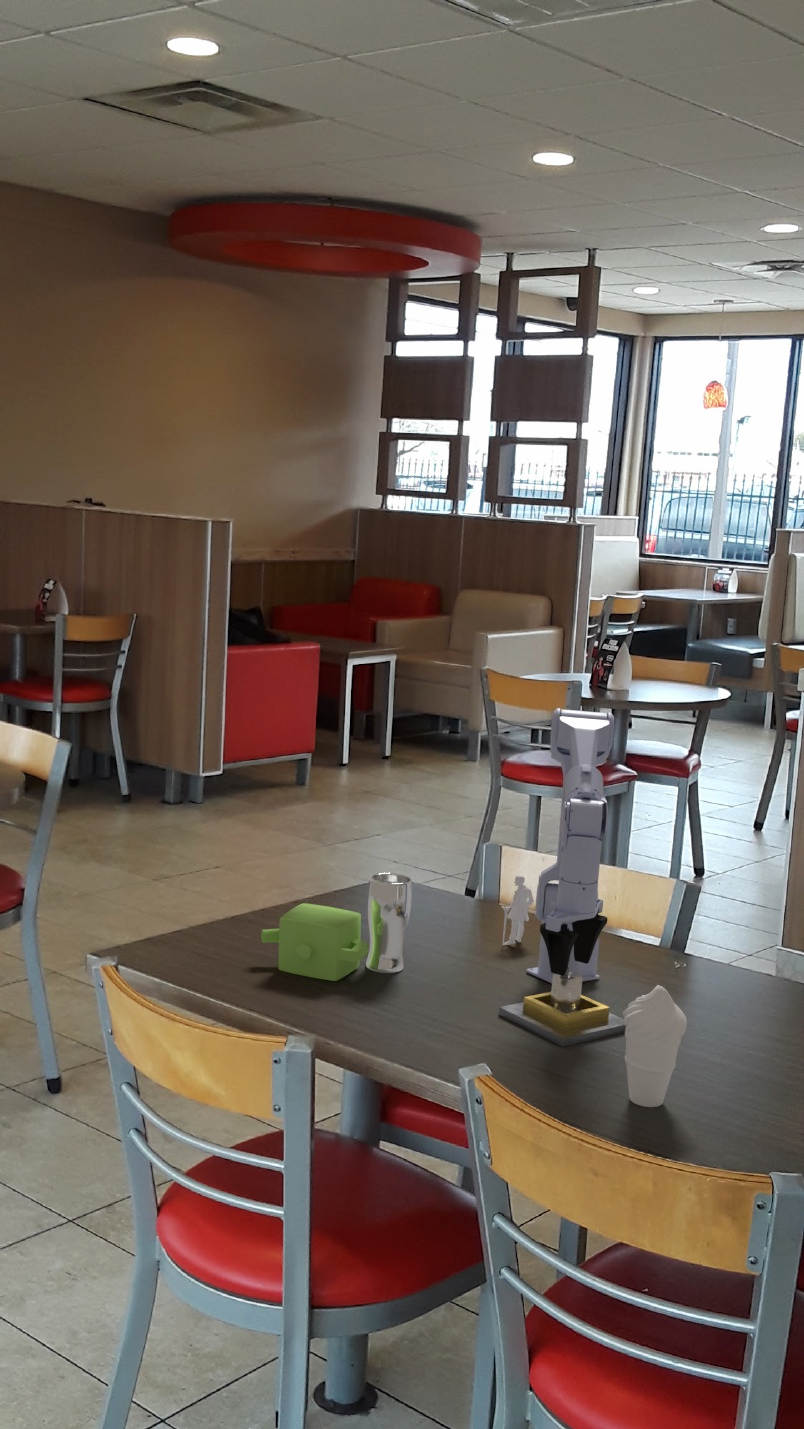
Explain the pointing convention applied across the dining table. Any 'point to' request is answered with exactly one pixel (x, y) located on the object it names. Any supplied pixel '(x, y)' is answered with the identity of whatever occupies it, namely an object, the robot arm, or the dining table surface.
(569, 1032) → the fill port
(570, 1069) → the dining table surface
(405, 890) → the beer glass
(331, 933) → the gearbox
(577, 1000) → the spout can
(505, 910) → the action figure
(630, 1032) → the soft serve ice cream cone
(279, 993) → the dining table surface
